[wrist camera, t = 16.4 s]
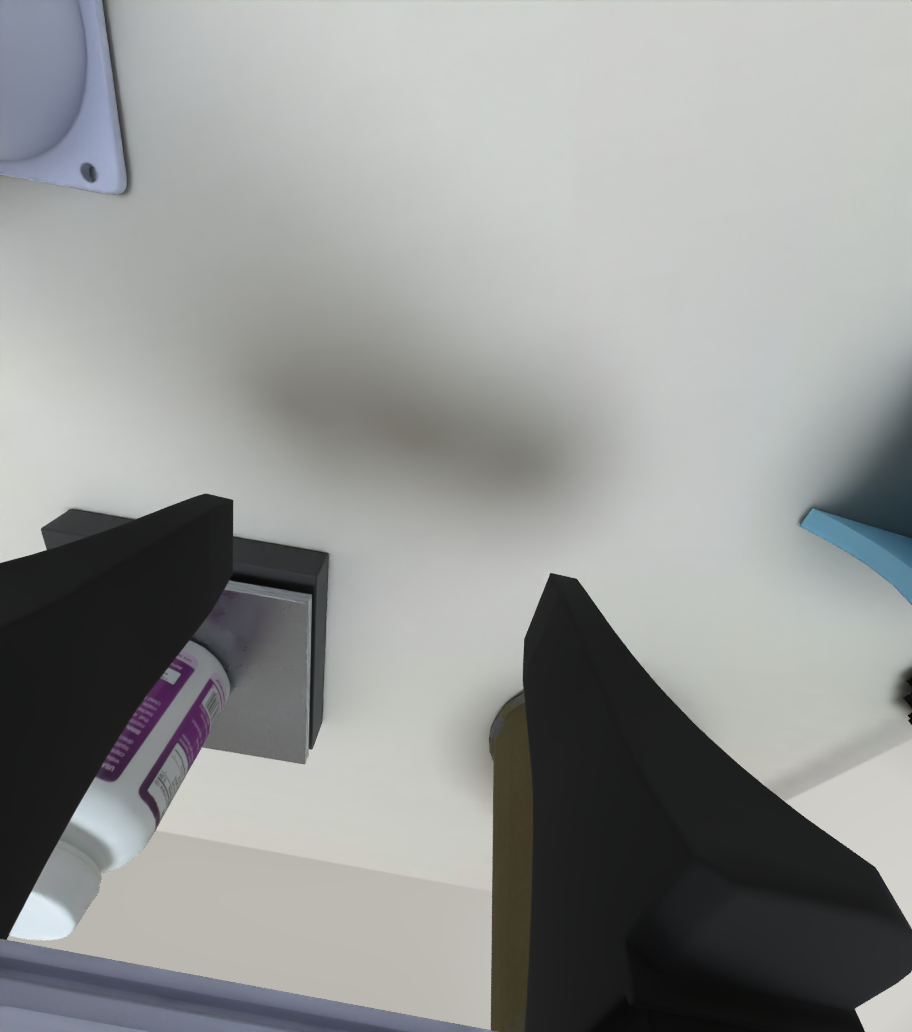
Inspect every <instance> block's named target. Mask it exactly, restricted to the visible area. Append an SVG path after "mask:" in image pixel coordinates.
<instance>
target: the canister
mask: <svg viewBox="0 0 912 1032" xmlns="http://www.w3.org/2000/svg"><path fill="white" fill-rule="evenodd" d="M489 745H490V754H491V757H492V760H493V761H494V786H493V877H492V968H491V975H492V976H491V1030H492V1031H497V1032H525V1016H526V999H527V982H528V965H529V944H530V919H531V894H532V848H533V789H532V771H531V761H530V751H529V740H528V730H527V720H526V709H525V698H524V693H522V694H521V695H519V696H518V697H516V698H514V699H513V700H511V701H510V702H508V704H507V705H506V706H505V708H504V709H503V710H502V712H501V713H500V714H499V715H498V717H497V718H496V720H495V722H494V724H493V725H492V727H491V732H490V738H489Z"/></svg>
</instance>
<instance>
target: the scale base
mask: <svg viewBox="0 0 912 1032" xmlns="http://www.w3.org/2000/svg"><path fill="white" fill-rule="evenodd" d="M130 521H133V520H130V519H125V518H119V517H113V516H107V515H101V514H96V513H90V512H84V511H78V510H73V509H71V510H68V511H67V512H65V513H64V514H62V515H61V516H59V517H58V518H56V519H55V520H53V521H52V522H50V523H49V524H47V525H46V526H44V527H43V528H41V531H42V535H43V538H44V542H45V545H46V548H47V550H49V549H53V548H56V547H59V546H62V545H65V544H68V543H71V542H74V541H77V540H80V539H83V538H86V537H88V536H91V535H94V534H97V533H100V532H103V531H106V530H109V529H112V528H115V527H117V526H120V525H123V524H125V523H128V522H130ZM230 580H231V581H236V582H242V583H248V584H254V585H260V586H265V587H271V588H277V589H283V590H289V591H295V592H300V593H306V594H311V595H312V615H311V663H310V711H309V749H313V746H314V744H315V741H316V738H317V735H318V732H319V730H320V727H321V724H322V706H323V681H324V656H325V630H326V605H327V580H328V554H327V553H321V552H315V551H309V550H303V549H298V548H292V547H286V546H280V545H275V544H269V543H263V542H257V541H252V540H246V539H240V538H234V537H233V574H232V576H231V578H230Z"/></svg>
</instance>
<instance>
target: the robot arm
mask: <svg viewBox="0 0 912 1032" xmlns="http://www.w3.org/2000/svg"><path fill="white" fill-rule="evenodd" d="M91 165H92V166H93V167H94V168H95V170H96V173H97V180H96V181H95V182H94V181H93V179H92V178H91V176H90V174H89V167H90V166H91ZM0 175H6V176H11V177H17V178H22V179H28V180H33V181H39V182H44V183H50V184H55V185H61V186H66V187H72V188H77V189H83V190H88V191H93V192H99V193H104V194H112V195H118V194H121V193H123V192H124V191H125V189H126V187H127V176H126V169H125V162H124V155H123V147H122V140H121V133H120V126H119V119H118V111H117V104H116V97H115V90H114V82H113V75H112V68H111V61H110V54H109V46H108V39H107V32H106V25H105V18H104V10H103V3H102V0H0ZM232 574H233V500H231V499H227V498H223V497H218V496H214V495H210V494H203V495H199V496H196V497H193V498H190V499H188V500H185V501H182V502H180V503H177V504H174V505H172V506H169V507H167V508H164V509H161V510H159V511H156V512H154V513H151V514H149V515H146V516H143V517H141V518H138V519H136V520H133V521H130V522H128V523H125V524H123V525H120V526H117V527H115V528H112V529H109V530H106V531H103V532H100V533H97V534H94V535H91V536H88V537H86V538H83V539H80V540H77V541H74V542H71V543H68V544H65V545H62V546H59V547H56V548H53V549H49V550H46V551H43V552H39V553H36V554H32V555H29V556H25V557H21V558H18V559H14V560H10V561H6V562H3V563H0V1032H497V1031H492V1030H486V1029H481V1028H476V1027H470V1026H465V1025H460V1024H455V1023H449V1022H444V1021H438V1020H433V1019H428V1018H422V1017H417V1016H411V1015H406V1014H401V1013H395V1012H390V1011H385V1010H379V1009H374V1008H369V1007H363V1006H358V1005H353V1004H347V1003H341V1002H336V1001H331V1000H326V999H320V998H315V997H309V996H304V995H299V994H294V993H288V992H283V991H277V990H272V989H266V988H261V987H256V986H251V985H245V984H240V983H235V982H229V981H223V980H218V979H213V978H208V977H202V976H197V975H191V974H186V973H181V972H175V971H170V970H164V969H159V968H154V967H149V966H143V965H138V964H133V963H127V962H122V961H116V960H111V959H106V958H100V957H94V956H90V955H84V954H79V953H73V952H68V951H63V950H57V949H52V948H46V947H41V946H36V945H30V944H25V943H20V942H15V941H9V940H7V937H8V936H9V934H10V932H11V930H12V928H13V926H14V924H15V922H16V920H17V918H18V916H19V914H20V913H21V911H22V909H23V907H24V905H25V903H26V901H27V899H28V897H29V895H30V893H31V892H32V890H33V888H34V886H35V884H36V882H37V880H38V878H39V876H40V874H41V872H42V870H43V869H44V867H45V865H46V863H47V861H48V859H49V858H50V856H51V854H52V852H53V850H54V849H55V847H56V845H57V843H58V841H59V840H60V838H61V836H62V834H63V832H64V831H65V829H66V827H67V825H68V823H69V822H70V820H71V818H72V816H73V814H74V813H75V811H76V809H77V807H78V805H79V804H80V802H81V800H82V799H83V797H84V795H85V794H86V792H87V790H88V788H89V787H90V785H91V783H92V782H93V780H94V778H95V777H96V775H97V773H98V772H99V770H100V768H101V766H102V765H103V763H104V761H105V760H106V758H107V756H108V755H109V753H110V751H111V750H112V748H113V747H114V745H115V743H116V742H117V740H118V739H119V737H120V735H121V734H122V732H123V731H124V729H125V727H126V726H127V724H128V723H129V721H130V719H131V718H132V716H133V715H134V713H135V712H136V710H137V709H138V707H139V706H140V704H141V703H142V702H143V700H144V699H145V697H146V696H147V695H148V693H149V692H150V691H151V689H152V688H153V687H154V685H155V684H156V683H157V682H158V680H159V679H160V678H161V676H162V675H163V674H164V673H165V671H166V670H167V669H168V667H169V666H170V665H171V664H172V662H173V661H174V660H175V658H176V657H177V656H178V655H179V653H180V652H181V651H182V649H183V648H184V647H185V646H186V644H187V643H188V642H189V640H190V639H191V638H192V636H193V635H194V634H195V633H196V631H197V630H198V629H199V627H200V626H201V625H202V623H203V622H204V621H205V619H206V618H207V617H208V615H209V614H210V613H211V611H212V610H213V608H214V606H215V605H216V603H217V601H218V600H219V598H220V596H221V595H222V593H223V591H224V589H225V587H226V585H227V584H228V582H229V580H230V578H231V576H232ZM523 686H524V698H525V709H526V720H527V730H528V740H529V751H530V761H531V771H532V789H533V848H532V894H531V919H530V944H529V965H528V982H527V999H526V1016H525V1032H865V1031H864V1029H863V1026H862V1024H861V1022H860V1020H859V1018H858V1016H857V1013H856V1011H855V1008H856V1007H858V1006H860V1005H861V1004H863V1003H865V1002H866V1001H868V1000H870V999H871V998H873V997H875V996H876V995H878V994H880V993H881V992H883V991H885V990H886V989H888V988H890V987H891V986H893V985H895V984H896V983H898V982H899V981H900V980H901V979H903V978H904V977H905V976H907V975H908V974H909V973H911V971H912V929H911V927H910V925H909V924H908V922H907V920H906V918H905V917H904V915H903V914H902V912H901V910H900V908H899V906H898V905H897V903H896V901H895V900H894V898H893V896H892V894H891V893H890V891H889V889H888V888H887V886H886V884H885V883H884V881H883V879H882V877H881V876H880V874H879V872H878V871H877V869H876V868H875V867H874V866H873V865H871V864H870V863H868V862H867V861H866V860H864V859H863V858H861V857H860V856H859V855H857V854H856V853H854V852H853V851H852V850H850V849H849V848H847V847H846V846H844V845H843V844H842V843H840V842H839V841H837V840H836V839H834V838H833V837H832V836H830V835H829V834H827V833H826V832H825V831H823V830H822V829H820V828H819V827H818V826H816V825H815V824H813V823H812V822H811V821H809V820H808V819H806V818H805V817H804V816H802V815H801V814H800V813H798V812H797V811H796V810H795V809H793V808H792V807H791V806H789V805H788V804H787V803H786V802H784V801H783V800H782V799H781V798H779V797H778V796H777V795H775V794H774V793H773V792H772V791H770V790H769V789H768V788H767V787H765V786H764V785H763V784H762V783H760V782H759V781H758V780H757V779H756V778H754V777H753V776H752V775H751V774H750V773H748V772H747V771H746V770H745V769H744V768H742V767H741V766H740V765H739V764H738V763H737V762H735V761H734V760H733V759H732V758H731V757H730V756H729V755H728V754H727V753H725V752H724V751H723V750H722V749H721V748H720V747H719V746H718V745H717V744H715V743H714V742H713V741H712V740H711V739H710V738H709V737H708V736H707V735H706V734H705V733H704V732H702V731H701V730H700V729H699V728H698V727H697V726H696V725H695V724H694V723H693V722H692V721H691V720H690V719H689V718H688V717H687V716H686V715H685V714H684V713H683V712H682V711H681V709H680V708H679V707H678V706H677V705H676V704H675V703H674V702H673V701H672V700H671V699H670V698H669V697H668V696H667V695H666V694H665V693H664V692H663V690H662V689H661V688H660V687H659V686H658V685H657V684H656V683H655V681H654V680H653V679H652V678H651V677H650V675H649V674H648V673H647V672H646V671H645V670H644V668H643V667H642V666H641V665H640V664H639V662H638V661H637V660H636V659H635V657H634V656H633V655H632V654H631V652H630V651H629V650H628V649H627V647H626V646H625V645H624V643H623V642H622V641H621V639H620V638H619V637H618V635H617V634H616V633H615V631H614V630H613V629H612V627H611V626H610V624H609V623H608V622H607V620H606V619H605V618H604V616H603V615H602V613H601V612H600V611H599V609H598V608H597V606H596V605H595V603H594V602H593V601H592V599H591V598H590V596H589V595H588V593H587V592H586V591H585V589H584V588H583V587H582V585H581V584H580V583H579V581H578V580H577V579H575V578H570V577H566V576H562V575H557V574H553V573H550V576H549V578H548V581H547V583H546V586H545V588H544V591H543V593H542V596H541V598H540V601H539V603H538V606H537V609H536V611H535V614H534V616H533V619H532V621H531V624H530V626H529V629H528V631H527V634H526V636H525V639H524V659H523Z"/></svg>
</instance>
